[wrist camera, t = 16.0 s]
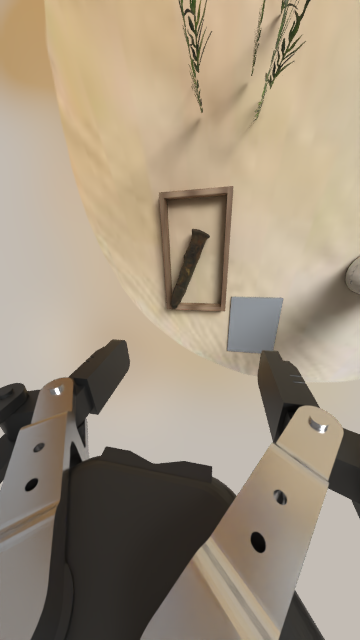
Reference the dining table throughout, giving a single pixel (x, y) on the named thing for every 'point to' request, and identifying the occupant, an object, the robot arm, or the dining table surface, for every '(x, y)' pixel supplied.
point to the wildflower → (291, 36)
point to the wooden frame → (166, 246)
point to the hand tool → (189, 265)
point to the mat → (253, 323)
